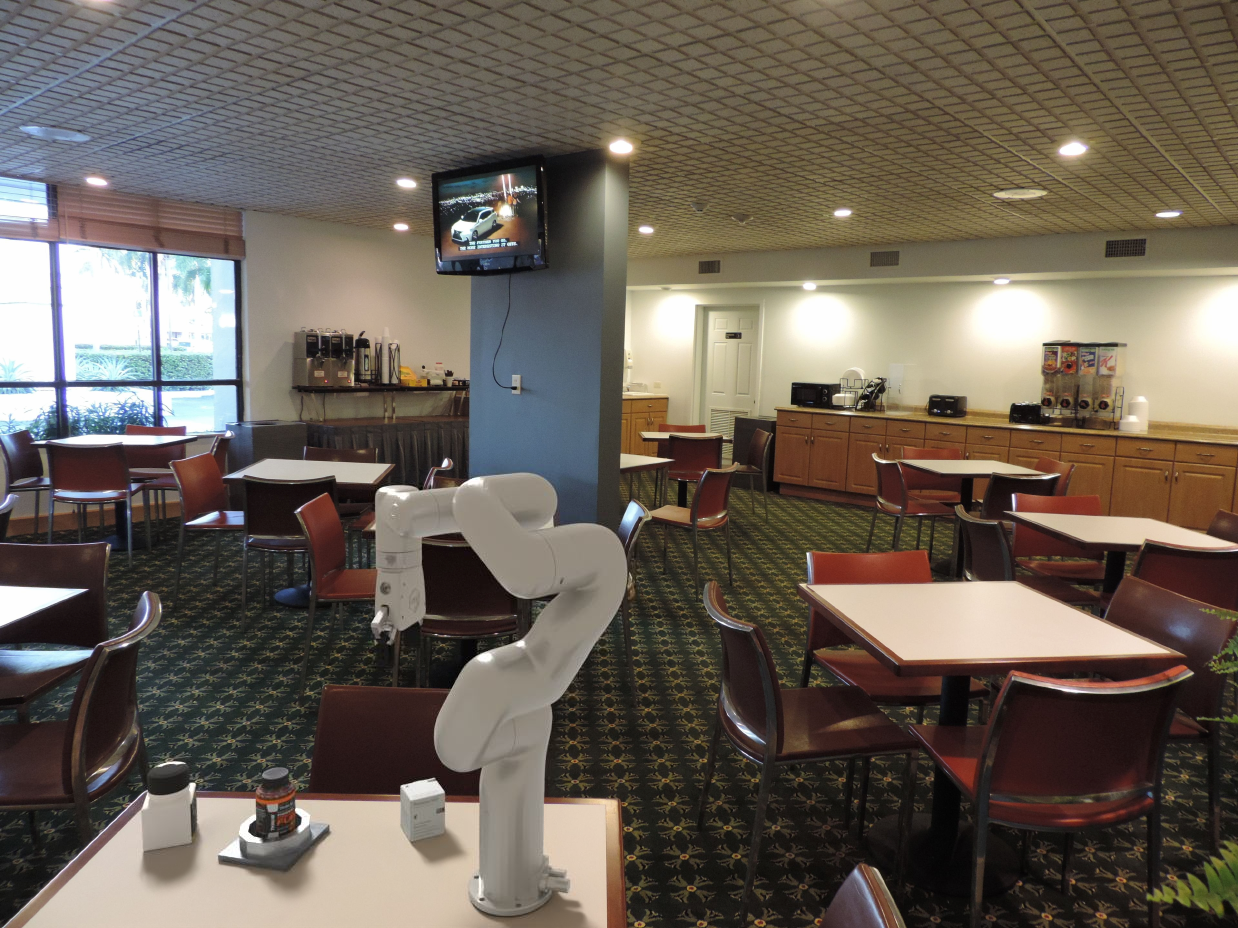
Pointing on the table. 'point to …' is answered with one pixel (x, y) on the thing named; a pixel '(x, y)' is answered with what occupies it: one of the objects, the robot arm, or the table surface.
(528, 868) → the robot arm
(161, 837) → the medicine bottle
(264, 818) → the supplement bottle
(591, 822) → the table surface
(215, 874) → the table surface
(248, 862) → the ring plate
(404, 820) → the skincare box
